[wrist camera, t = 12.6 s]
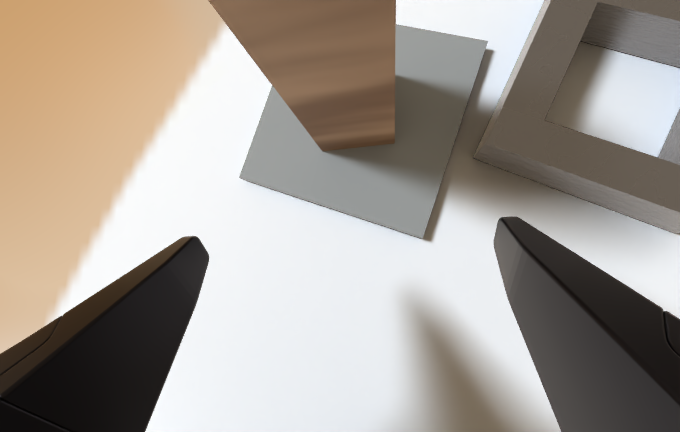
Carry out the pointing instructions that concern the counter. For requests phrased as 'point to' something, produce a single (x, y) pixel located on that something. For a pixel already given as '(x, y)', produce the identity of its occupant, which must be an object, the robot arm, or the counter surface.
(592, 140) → the collar
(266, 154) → the mat
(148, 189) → the counter surface
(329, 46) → the walnut peg
